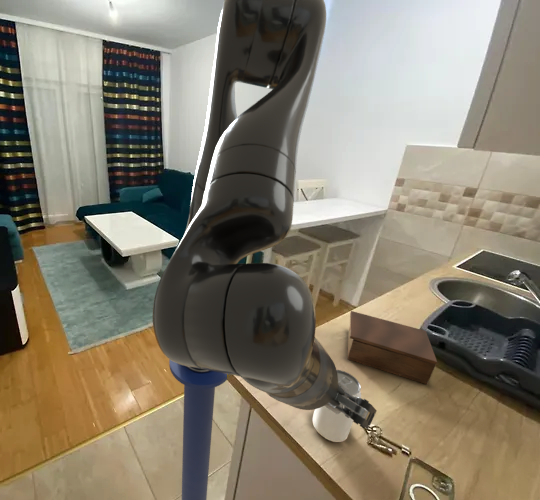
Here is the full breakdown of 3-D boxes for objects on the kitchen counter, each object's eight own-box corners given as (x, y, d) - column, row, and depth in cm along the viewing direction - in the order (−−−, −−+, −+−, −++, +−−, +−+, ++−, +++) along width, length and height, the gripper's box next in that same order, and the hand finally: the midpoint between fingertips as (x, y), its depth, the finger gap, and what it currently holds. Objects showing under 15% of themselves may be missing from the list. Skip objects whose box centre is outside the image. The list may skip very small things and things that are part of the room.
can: (304, 421, 58) (316, 375, 53) (325, 407, 61) (338, 363, 56) (334, 450, 52) (349, 402, 48) (355, 433, 56) (371, 387, 51)
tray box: (347, 359, 74) (352, 340, 72) (348, 331, 84) (353, 314, 82) (427, 384, 67) (435, 364, 65) (417, 351, 77) (424, 333, 75)
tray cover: (349, 338, 72) (350, 335, 72) (350, 313, 82) (351, 310, 82) (436, 364, 65) (437, 361, 64) (424, 333, 75) (425, 330, 75)
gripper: (383, 374, 27) (387, 396, 38) (255, 307, 36) (289, 341, 48) (346, 451, 25) (362, 450, 37) (224, 360, 35) (267, 382, 47)
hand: (321, 388), depth 42 cm, fingers open, 8 cm apart
